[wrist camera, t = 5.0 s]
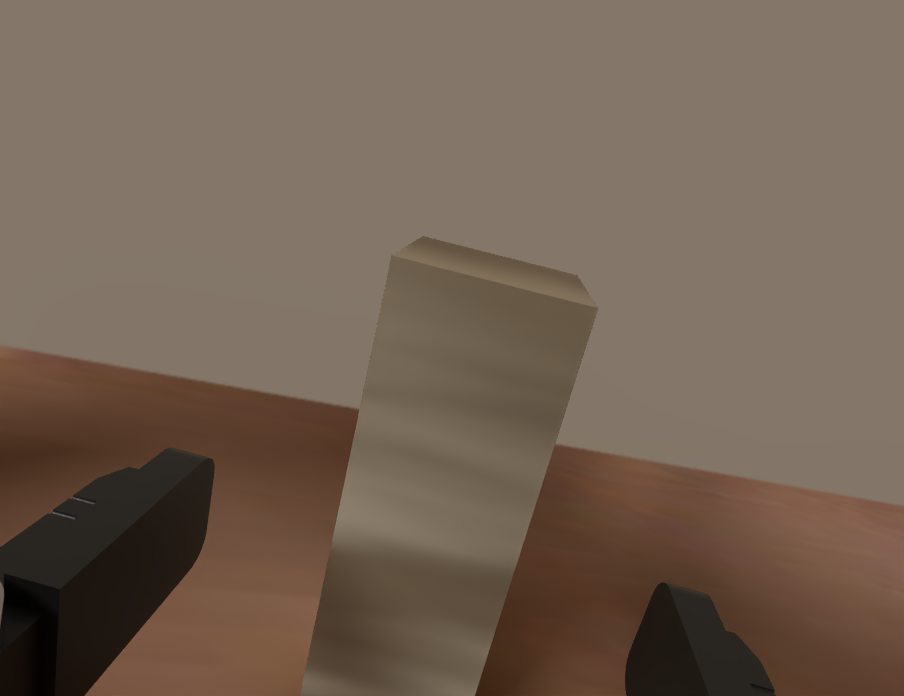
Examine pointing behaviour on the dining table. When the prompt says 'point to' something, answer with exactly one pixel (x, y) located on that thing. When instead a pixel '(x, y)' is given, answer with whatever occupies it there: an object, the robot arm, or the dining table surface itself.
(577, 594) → the dining table surface
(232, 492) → the dining table surface
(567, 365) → the beige rectangular block
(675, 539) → the dining table surface
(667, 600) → the robot arm
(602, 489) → the dining table surface
